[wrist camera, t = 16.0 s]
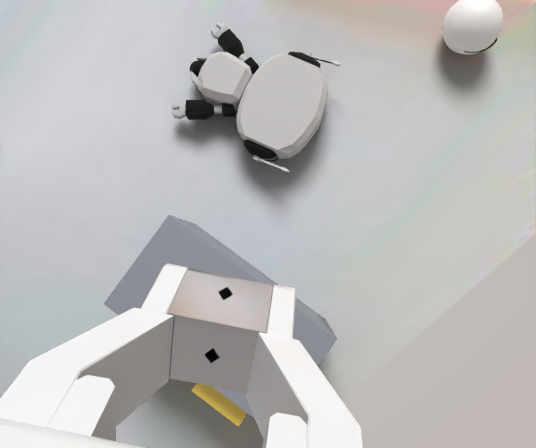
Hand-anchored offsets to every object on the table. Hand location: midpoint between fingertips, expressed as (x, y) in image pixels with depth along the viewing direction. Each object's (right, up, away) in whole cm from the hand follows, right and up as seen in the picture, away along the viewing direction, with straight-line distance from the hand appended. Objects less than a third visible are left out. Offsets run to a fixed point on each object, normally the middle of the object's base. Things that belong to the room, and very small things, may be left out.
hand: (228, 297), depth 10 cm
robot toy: (0, +15, +37) cm, 40 cm away
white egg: (+23, +22, +37) cm, 48 cm away
